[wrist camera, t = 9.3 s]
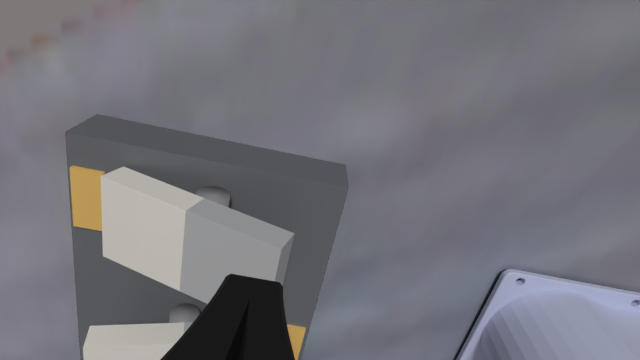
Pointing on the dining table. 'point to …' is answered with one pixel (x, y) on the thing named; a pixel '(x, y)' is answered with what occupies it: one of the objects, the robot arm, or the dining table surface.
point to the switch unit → (191, 174)
